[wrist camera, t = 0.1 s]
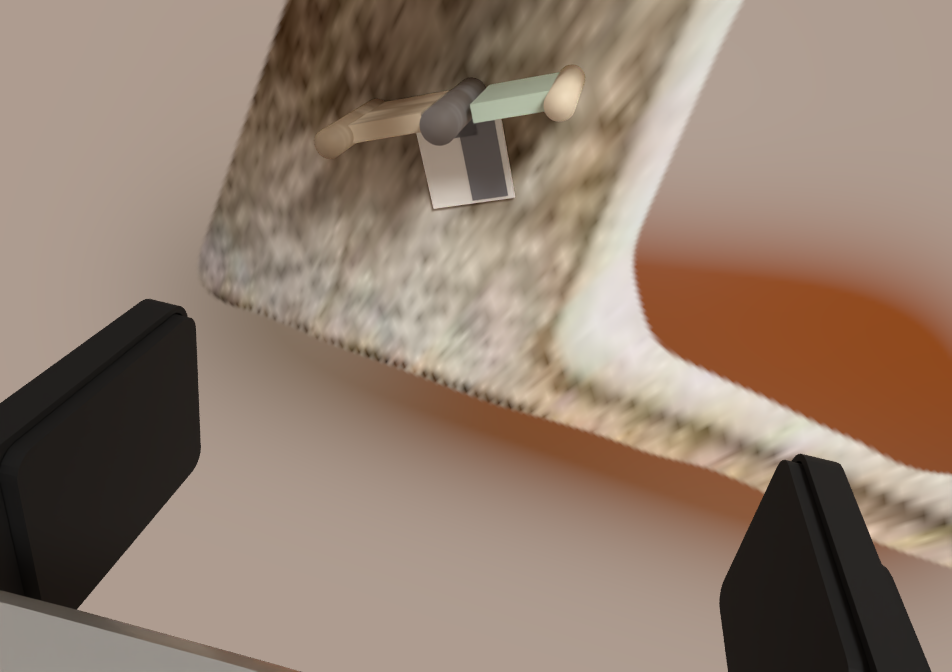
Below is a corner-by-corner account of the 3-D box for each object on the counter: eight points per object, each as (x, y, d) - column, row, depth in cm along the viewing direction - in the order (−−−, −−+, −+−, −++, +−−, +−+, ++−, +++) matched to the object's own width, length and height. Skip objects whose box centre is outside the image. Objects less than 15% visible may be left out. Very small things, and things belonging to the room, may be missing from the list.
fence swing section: (493, 106, 45) (468, 136, 38) (488, 79, 44) (461, 105, 37) (586, 90, 43) (577, 118, 36) (583, 62, 42) (573, 85, 36)
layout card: (434, 207, 49) (433, 209, 49) (415, 124, 47) (414, 125, 47) (515, 196, 48) (514, 197, 48) (499, 109, 45) (499, 111, 45)
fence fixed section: (370, 128, 48) (319, 165, 40) (362, 97, 47) (308, 128, 39) (490, 108, 46) (460, 142, 38) (484, 75, 45) (452, 103, 37)
